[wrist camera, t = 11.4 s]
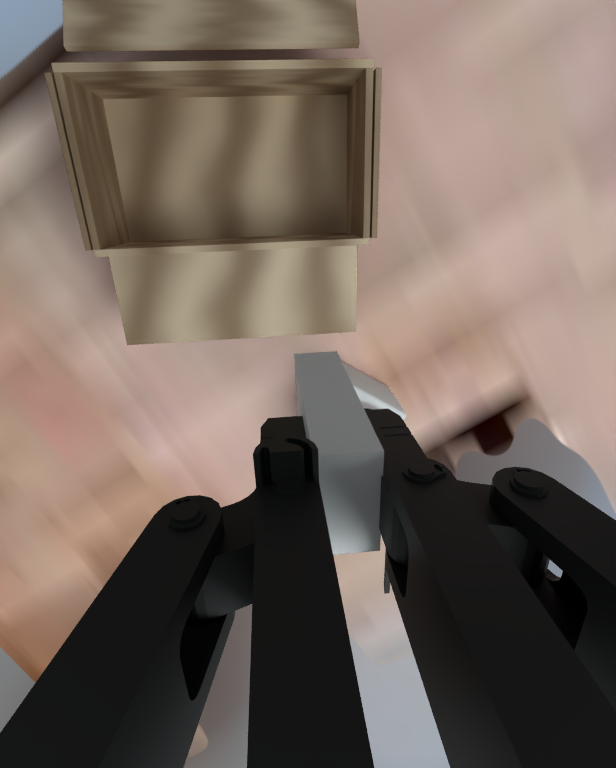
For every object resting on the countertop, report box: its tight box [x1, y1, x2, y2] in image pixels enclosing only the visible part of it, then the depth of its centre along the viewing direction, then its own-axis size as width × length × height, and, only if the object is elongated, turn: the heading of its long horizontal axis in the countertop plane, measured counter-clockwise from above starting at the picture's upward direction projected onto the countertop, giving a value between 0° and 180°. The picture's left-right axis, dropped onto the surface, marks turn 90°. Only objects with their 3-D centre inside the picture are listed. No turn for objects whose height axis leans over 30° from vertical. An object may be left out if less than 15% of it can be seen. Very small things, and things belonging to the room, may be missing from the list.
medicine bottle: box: [341, 361, 406, 420], centre depth 42 cm, size 7×7×12 cm
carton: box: [45, 59, 382, 345], centre depth 35 cm, size 22×19×8 cm
